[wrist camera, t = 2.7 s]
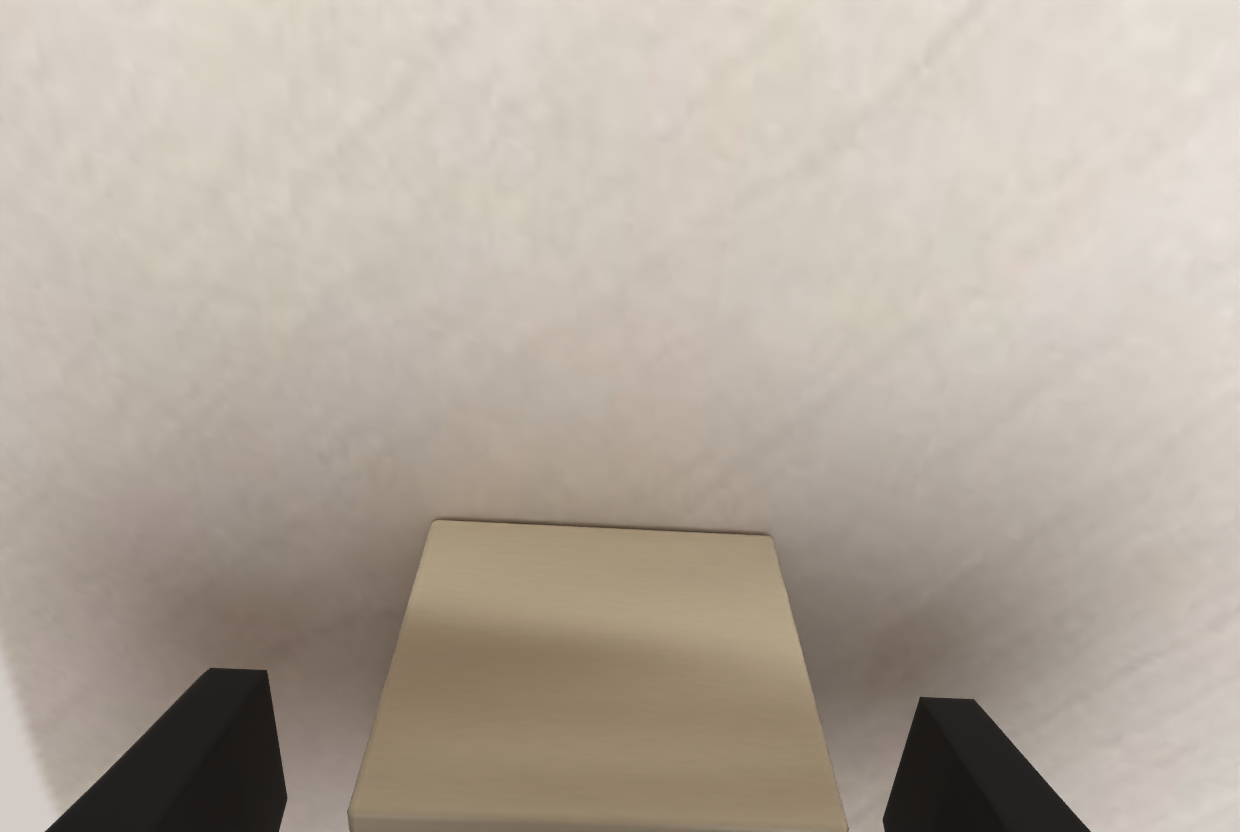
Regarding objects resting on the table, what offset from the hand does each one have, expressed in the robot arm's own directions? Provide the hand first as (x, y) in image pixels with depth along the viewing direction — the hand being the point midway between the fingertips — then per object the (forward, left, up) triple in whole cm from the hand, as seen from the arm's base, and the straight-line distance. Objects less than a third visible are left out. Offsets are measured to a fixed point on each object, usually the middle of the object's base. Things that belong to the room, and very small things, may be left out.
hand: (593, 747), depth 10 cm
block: (0, 0, -2) cm, 2 cm away
